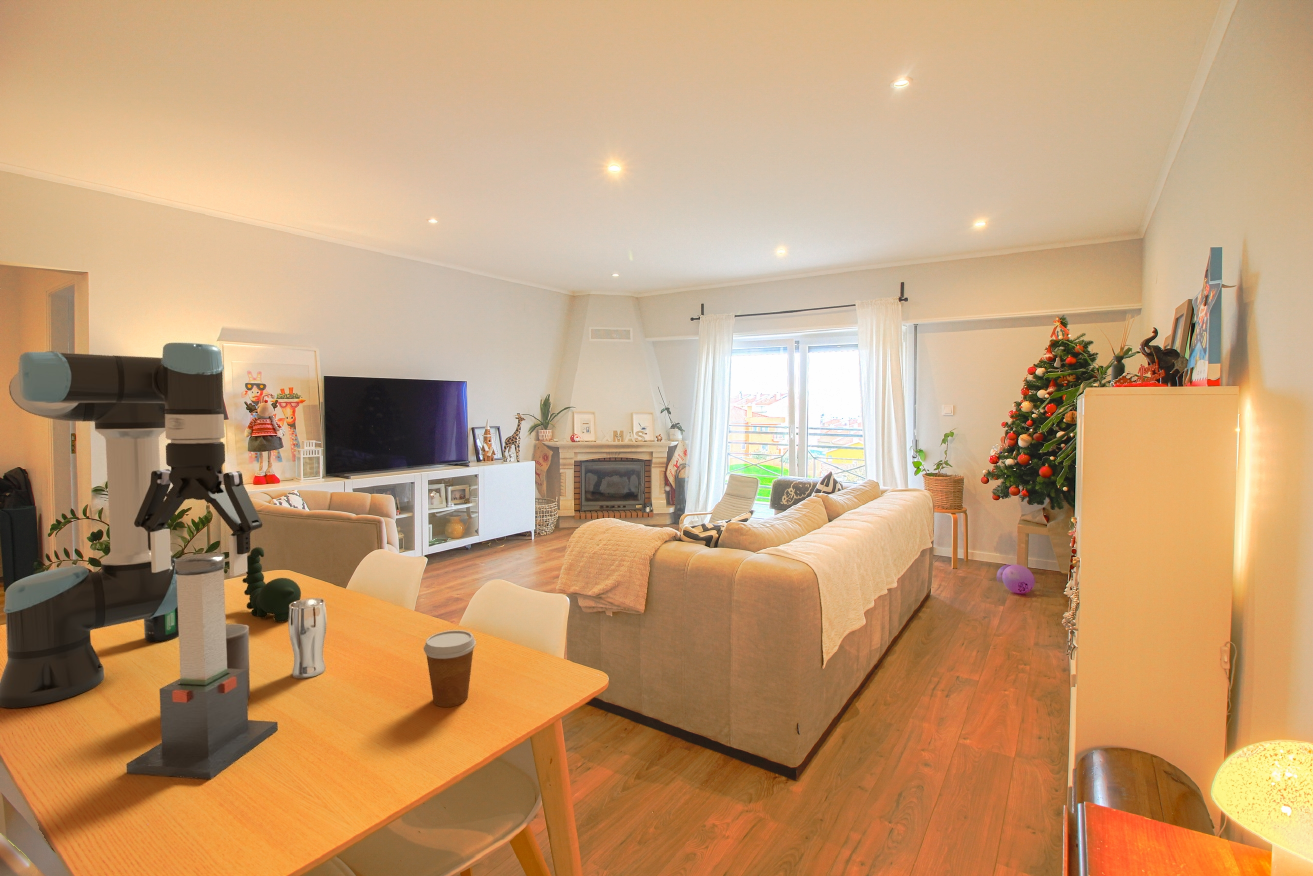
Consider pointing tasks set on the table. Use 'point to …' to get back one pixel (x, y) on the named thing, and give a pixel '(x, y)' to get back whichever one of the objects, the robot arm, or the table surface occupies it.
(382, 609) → the table surface
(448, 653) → the disposable coffee cup
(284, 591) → the toy figurine
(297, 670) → the beer glass
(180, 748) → the jack stand
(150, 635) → the supplement bottle
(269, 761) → the table surface
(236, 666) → the pillar candle
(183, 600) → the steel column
